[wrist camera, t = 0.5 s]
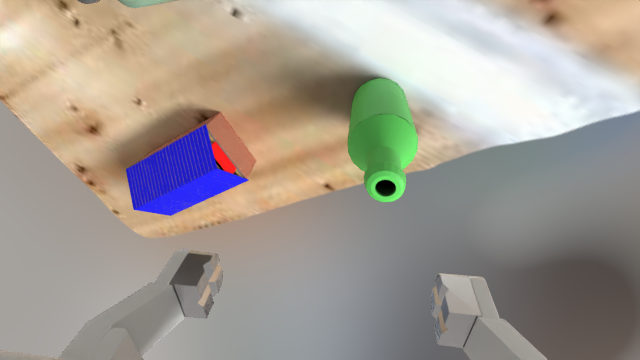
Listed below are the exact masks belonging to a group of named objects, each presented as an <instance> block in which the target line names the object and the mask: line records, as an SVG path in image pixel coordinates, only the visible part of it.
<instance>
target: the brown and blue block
mask: <svg viewBox="0 0 640 360" xmlns="http://www.w3.org/2000/svg"><path fill="white" fill-rule="evenodd" d="M210 137H211V138H212V139H211V138H210ZM210 140H211V141H212V142H210ZM215 159H216V160H217V162H218V163H219V164H220V165H221V167H222V168H223V169H224V170H225V171H223V170H221V169H220V168H219V166H218V165H217V164H216V162H215ZM255 163H256V160H255V158H254V157H253V156H252V154H251V153H250V152H249V150H248V149H247V147H246V146H245V145H244V143H243V142H242V141H241V139H240V138H239V137H238V135H237V134H236V132H235V131H234V130H233V128H232V127H231V126H230V124H229V123H228V122H227V120H226V119H225V117H224V116H223V115H222V113H221V112H219V113H218V114H216V115H214V116H212V117H211V118H209V119H207V120H205V121H204V122H202V123H200V124H198V125H197V126H195V127H193V128H191V129H190V130H188V131H186V132H184V133H183V134H181V135H179V136H177V137H176V138H174V139H172V140H170V141H169V142H167V143H165V144H163V145H162V146H160V147H158V148H156V149H155V150H153V151H151V152H150V153H148V154H147V155H145V156H144V157H143V158H142V159H141V160H140V161H138V162H137V163H136V164H134V165H132V166H131V167H129V168H127V169H126V172H127V177H128V182H129V187H130V193H131V198H132V203H133V208H134V210H139V211H145V212H152V213H158V214H164V215H170V216H171V215H173V214H175V213H177V212H180V211H182V210H184V209H186V208H188V207H191V206H193V205H195V204H197V203H199V202H202V201H204V200H206V199H208V198H210V197H213V196H215V195H217V194H219V193H221V192H224V191H226V190H228V189H230V188H232V187H235V186H237V185H239V184H241V183H243V182H246V181H248V179H247V177H248V176H249V174H250V172H251V170H252V169H253V167H254V165H255ZM217 167H218V169H217Z"/></svg>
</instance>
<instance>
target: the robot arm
mask: <svg viewBox="0 0 640 360" xmlns="http://www.w3.org/2000/svg"><path fill="white" fill-rule="evenodd" d="M219 261H220V259H219V255H218V254H216V253H210V252H200V251H193V250H182V249H179V250H177V251H176V252H175V253H174V254H173V256H172V257H171V259H170V260H169V262H168V263H167V265H166V267H165V268H164V269H163V271H162V272H161V274H160V275H159V277H158V278H157V280H156V281H155V283H149V284H148V285H146V286H144V287H143V288H141V289H139V290H138V291H136V292H135V293H133V294H131V295H130V296H128V297H127V298H125V299H123V300H122V301H120V302H119V303H117V304H115V305H114V306H112V307H111V308H109V309H107V310H106V311H104V312H103V313H101V314H99V315H98V316H96V317H94V318H93V319H91V320H90V321H88V322H87V323H85V325H84V326H83V327H82V329H81V330H80V331H79V332H78V334H77V335H76V336H75V337H74V339H73V340H72V341H71V343H70V344H69V345H68V346H67V348H66V349H65V350H64V351H63V353H62V354H61V355H60V357H59V358H55V357H48V356H40V355H33V354H25V353H17V352H9V351H3V350H0V360H143V358H142V356H143V355H144V354H145V353H146V352H147V351H148V350H149V349H150V348H152V347H153V346H154V345H155V344H156V343H157V342H158V341H159V340H161V339H162V338H163V337H164V336H165V335H166V334H167V333H168V332H169V331H171V330H172V329H173V328H174V327H175V326H176V325H177V324H179V323H180V322H181V321H182V320H183V319H184V318H185V317H195V318H207V317H208V315H209V312H210V310H211V308H212V306H213V304H214V302H213V298H212V297H213V296H215V295H216V294H217V293H218V292H219V290H220V288H221V285H222V280H223V271H222V268H221V267H220V266H219V265H218V263H219ZM435 282H436V287H434V288H433V290H432V294H431V310H432V315H433V316H434V317H435V318H436V323H435V332H436V337H437V343H438V345H444V346H452V347H459V348H464V349H463V350H464V351H465V353H466V354H467V355H468V356H469V358H470V359H471V360H547V359H546V358H545V357H544V356H543V355H542V354H541V353H540V352H539V351H538V350H537V349H536V348H534V346H532V345H531V344H530V343H529V342H528V341H527V340H526V339H525V338H524V337H523V336H522V335H521V334H520V333H518V332H517V331H516V330H515V329H514V328H513V327H512V326H511V325H510V324H509V323H508V322H507V321H506V320H505V319H500V318H499V316H498V313H497V310H496V308H495V305H494V303H493V300H492V297H491V295H490V292H489V289H488V286H487V284H486V281H485V279H484V278H483V277H474V276H465V275H453V274H440V273H438V275H437V276H436V279H435Z"/></svg>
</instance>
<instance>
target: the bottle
mask: <svg viewBox="0 0 640 360" xmlns="http://www.w3.org/2000/svg"><path fill="white" fill-rule="evenodd" d="M417 147H418V137H417V134H416V130H415V127H414V123H413V120H412V117H411V113H410V110H409V107H408V103H407V100H406V97H405V94H404V92H403V90H402V89H401V88H400V86H399V85H398V84H397V83H395V82H393V81H391V80H389V79H381V78H377V79H373V80H370V81H368V82H366V83H365V84H363V85H362V86H360V88H359V89H358V90H357V92H356V93H355V95H354V98H353V101H352V108H351V116H350V125H349V134H348V153H349V155H350V157H351V159H352V161H353V163H354V164H355V165H356V166H358V167H359V168H360V169H361V170H363V171H365V175H364V184H365V186H366V189H367V191H368V193H369V195H370V196H372V197H373V198H374V199H376V200H378V201H381V202H391V201H394V200H396V199H398V198H399V197H400V196H401V195H402V194H403V192H404V190H405V186H406V176H405V174H404V172H403V171H402V169H404V168H405V167H406V166H407V165H408V164H409V163H410V162H411V161H412V160H413V158H414V156H415V154H416V152H417Z"/></svg>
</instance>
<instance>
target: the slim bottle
mask: <svg viewBox="0 0 640 360" xmlns="http://www.w3.org/2000/svg"><path fill="white" fill-rule="evenodd" d="M78 1H79V2H81V3H85V4H90V3H96V2H99V1H100V0H78ZM118 1H120V2H121V3H122V4H124V5H125V6H128V7H131V8H139V7H145V6H150V5H156V4H161V3H167V2H172V1H177V0H118Z"/></svg>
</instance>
